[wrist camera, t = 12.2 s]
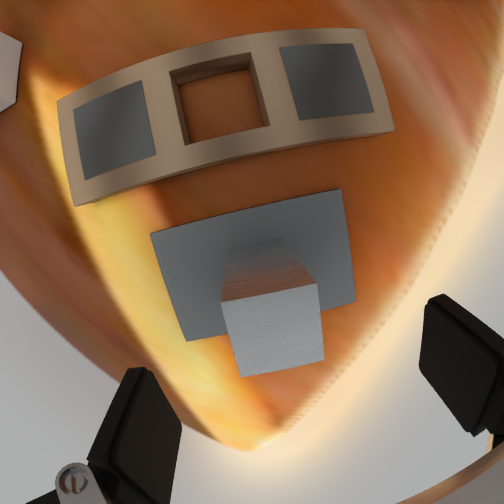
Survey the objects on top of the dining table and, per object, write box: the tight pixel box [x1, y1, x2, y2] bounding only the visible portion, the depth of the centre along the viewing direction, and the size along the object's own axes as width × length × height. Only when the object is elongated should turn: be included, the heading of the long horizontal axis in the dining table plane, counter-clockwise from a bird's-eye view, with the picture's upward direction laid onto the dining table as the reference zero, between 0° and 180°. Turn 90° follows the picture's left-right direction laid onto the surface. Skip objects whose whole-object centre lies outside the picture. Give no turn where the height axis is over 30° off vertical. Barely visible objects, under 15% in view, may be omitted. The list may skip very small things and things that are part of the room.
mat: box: [150, 189, 356, 342], centre depth 21 cm, size 14×9×1 cm, turn 103°
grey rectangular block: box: [220, 238, 324, 377], centre depth 16 cm, size 4×4×9 cm
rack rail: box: [57, 28, 395, 207], centre depth 17 cm, size 22×8×3 cm, turn 103°
